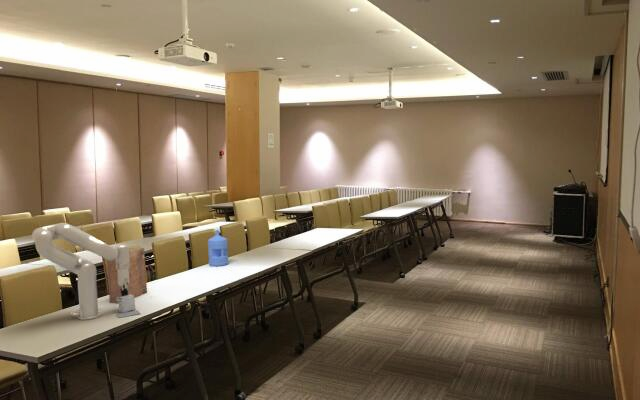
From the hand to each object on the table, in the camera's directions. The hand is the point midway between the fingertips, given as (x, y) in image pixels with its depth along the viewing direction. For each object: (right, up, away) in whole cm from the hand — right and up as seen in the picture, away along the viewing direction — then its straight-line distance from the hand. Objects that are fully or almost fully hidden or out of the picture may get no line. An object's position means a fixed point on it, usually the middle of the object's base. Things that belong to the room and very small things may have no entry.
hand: (124, 296), depth 304 cm
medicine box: (+3, -8, -4) cm, 9 cm away
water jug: (+32, +4, +119) cm, 123 cm away
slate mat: (+6, -8, -10) cm, 14 cm away
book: (-7, -6, +26) cm, 28 cm away
